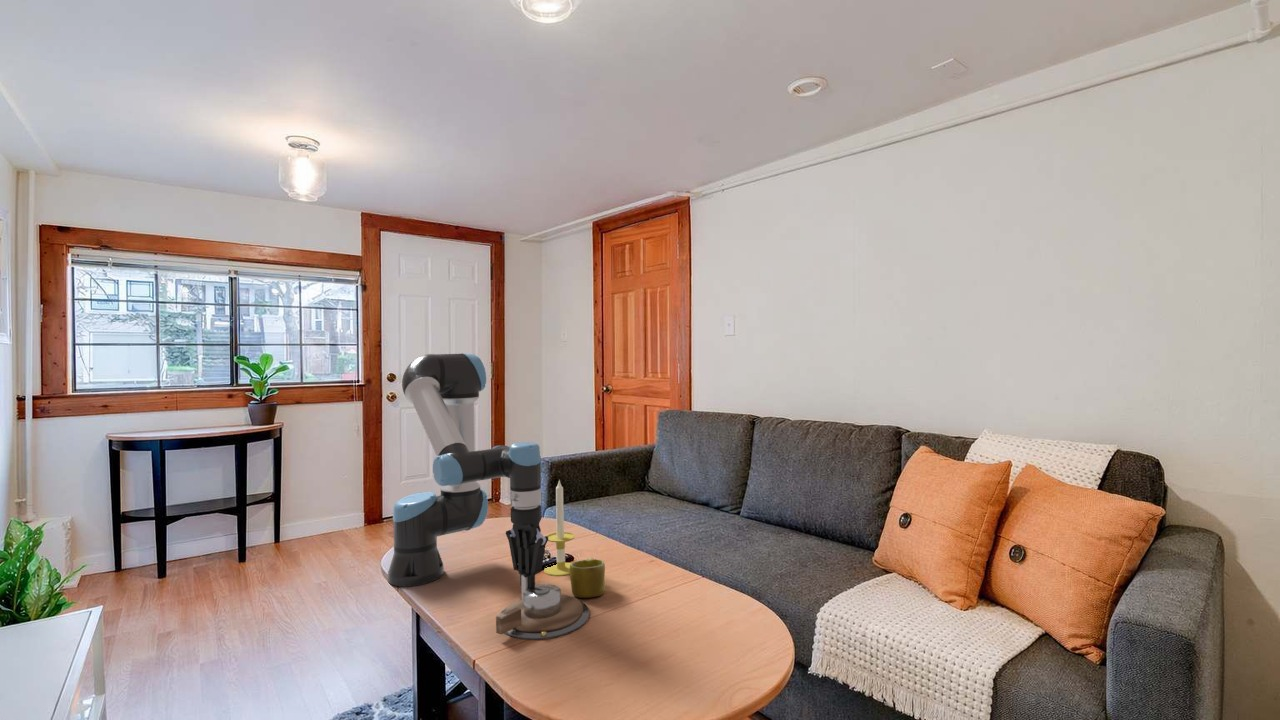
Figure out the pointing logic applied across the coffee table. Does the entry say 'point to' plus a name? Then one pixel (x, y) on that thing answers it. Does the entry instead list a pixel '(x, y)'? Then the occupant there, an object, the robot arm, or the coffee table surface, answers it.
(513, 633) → the susan base
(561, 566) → the candle
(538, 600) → the cover
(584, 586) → the mug
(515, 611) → the platter
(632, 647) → the coffee table surface
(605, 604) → the coffee table surface
